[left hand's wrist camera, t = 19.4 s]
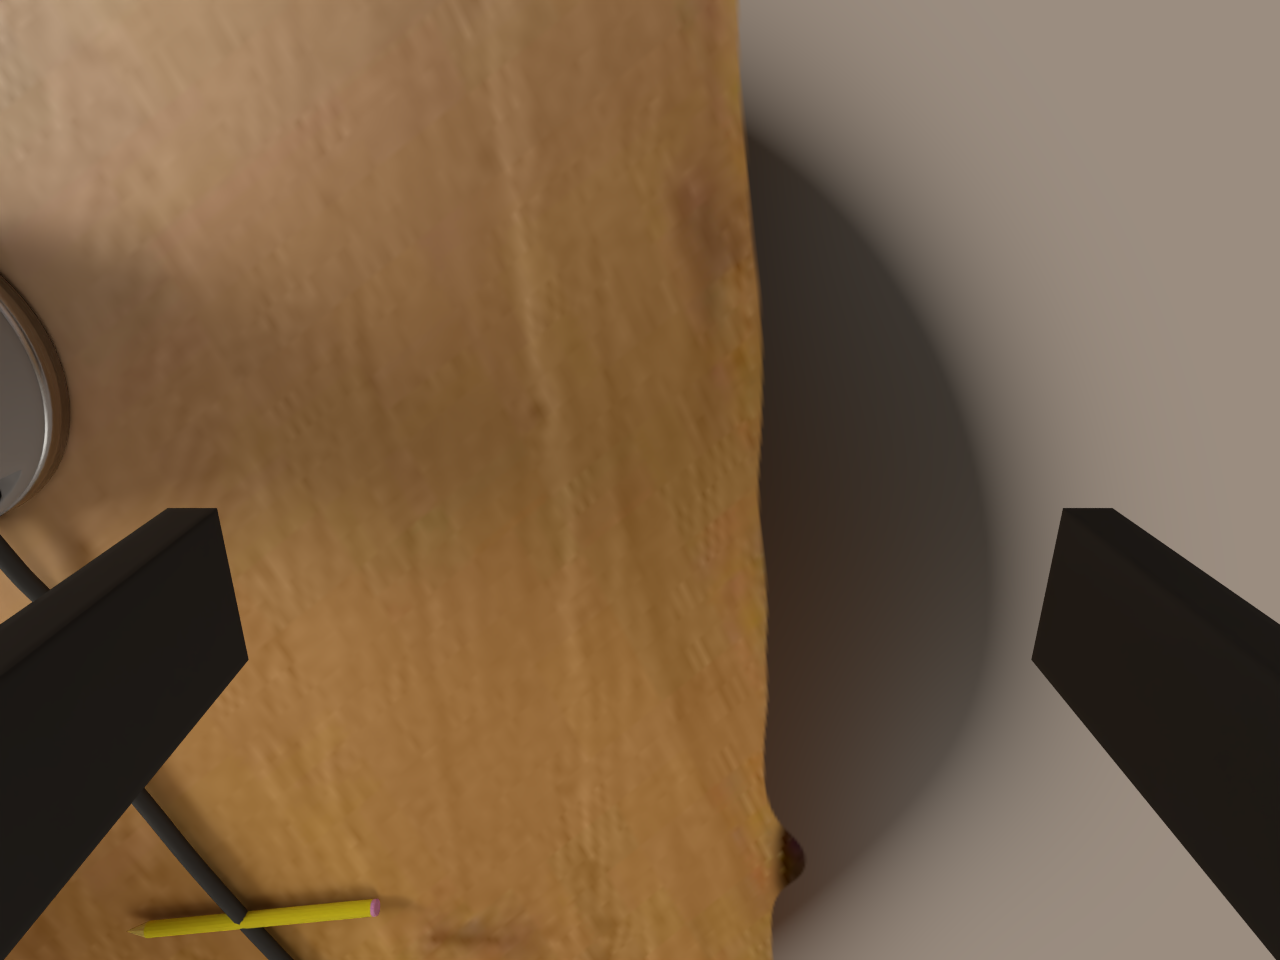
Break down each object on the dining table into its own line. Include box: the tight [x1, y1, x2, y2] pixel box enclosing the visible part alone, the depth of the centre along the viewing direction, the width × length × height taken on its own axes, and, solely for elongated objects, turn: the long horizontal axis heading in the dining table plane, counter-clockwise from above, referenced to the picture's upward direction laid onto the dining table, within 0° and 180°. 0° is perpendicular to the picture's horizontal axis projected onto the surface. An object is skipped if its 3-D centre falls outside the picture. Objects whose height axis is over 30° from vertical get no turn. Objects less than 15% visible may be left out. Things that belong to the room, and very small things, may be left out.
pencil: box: [126, 899, 380, 938], centre depth 50 cm, size 16×1×1 cm, turn 97°
